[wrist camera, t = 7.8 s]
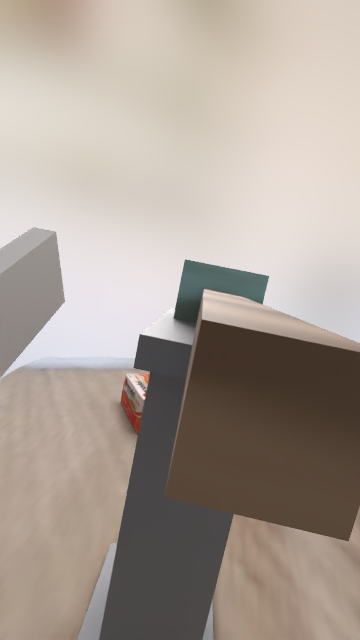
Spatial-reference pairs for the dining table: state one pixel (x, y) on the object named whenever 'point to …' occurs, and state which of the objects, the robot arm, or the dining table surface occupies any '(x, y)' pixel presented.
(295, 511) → the mallet
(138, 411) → the medicine box
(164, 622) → the stand
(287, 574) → the dining table surface
